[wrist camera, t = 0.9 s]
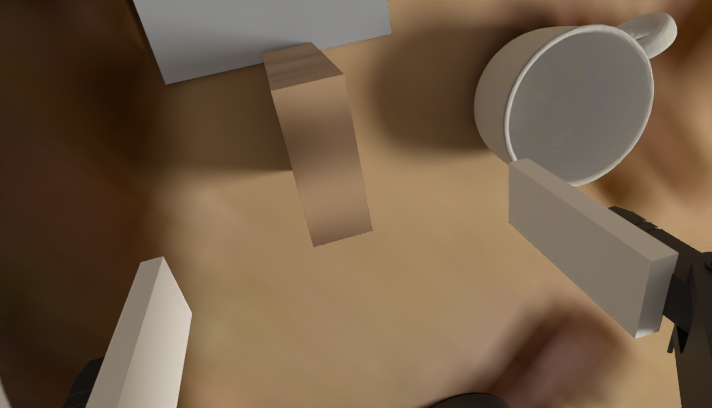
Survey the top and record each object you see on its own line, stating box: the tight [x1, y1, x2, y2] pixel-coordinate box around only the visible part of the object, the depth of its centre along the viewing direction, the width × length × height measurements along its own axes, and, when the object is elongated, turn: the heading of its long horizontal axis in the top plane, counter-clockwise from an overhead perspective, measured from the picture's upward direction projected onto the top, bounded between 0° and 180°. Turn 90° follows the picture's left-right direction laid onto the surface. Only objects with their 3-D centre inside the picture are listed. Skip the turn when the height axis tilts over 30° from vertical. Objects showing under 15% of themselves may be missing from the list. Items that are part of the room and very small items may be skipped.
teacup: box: [474, 12, 677, 187], centre depth 31 cm, size 14×11×8 cm
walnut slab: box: [262, 43, 373, 247], centre depth 27 cm, size 9×4×11 cm, turn 11°
